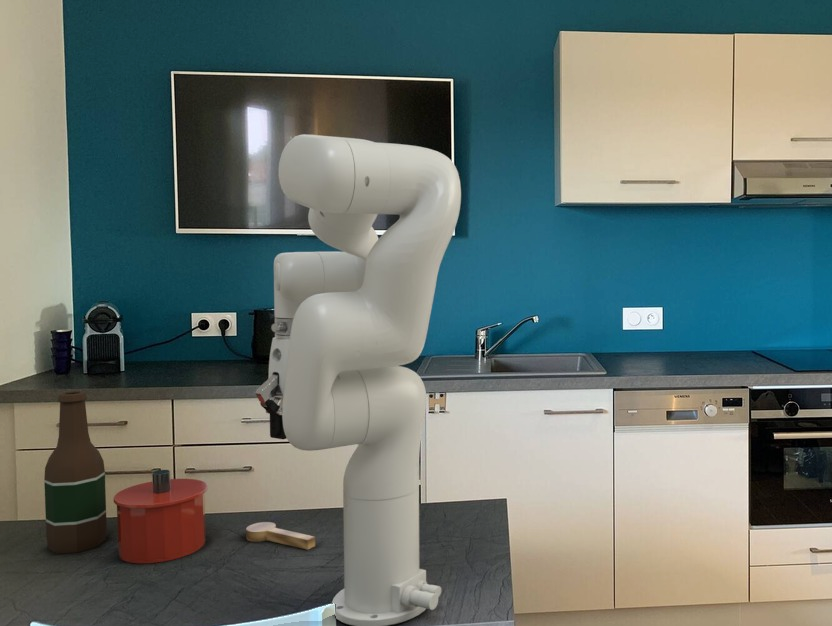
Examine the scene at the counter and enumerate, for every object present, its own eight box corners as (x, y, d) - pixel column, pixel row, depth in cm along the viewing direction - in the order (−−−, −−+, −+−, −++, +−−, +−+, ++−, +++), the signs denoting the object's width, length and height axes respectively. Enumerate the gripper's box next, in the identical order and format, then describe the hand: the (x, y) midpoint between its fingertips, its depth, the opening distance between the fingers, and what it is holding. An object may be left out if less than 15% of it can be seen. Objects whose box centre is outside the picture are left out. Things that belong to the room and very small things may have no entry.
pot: (221, 541, 123) (220, 488, 122) (152, 569, 112) (151, 511, 112) (172, 529, 128) (171, 478, 127) (101, 555, 117) (99, 499, 117)
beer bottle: (77, 557, 116) (71, 398, 115) (33, 552, 118) (28, 396, 116) (118, 537, 124) (114, 389, 122) (77, 533, 125) (72, 386, 124)
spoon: (322, 543, 122) (322, 533, 122) (300, 553, 118) (300, 543, 118) (262, 529, 128) (262, 520, 128) (240, 538, 124) (239, 529, 124)
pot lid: (225, 492, 122) (225, 466, 122) (150, 517, 111) (149, 489, 111) (171, 481, 128) (171, 456, 127) (94, 504, 116) (93, 477, 116)
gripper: (274, 334, 118) (275, 446, 119) (354, 324, 133) (355, 423, 134) (238, 331, 121) (240, 441, 122) (321, 321, 136) (322, 418, 137)
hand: (301, 431), depth 128 cm, fingers open, 8 cm apart
